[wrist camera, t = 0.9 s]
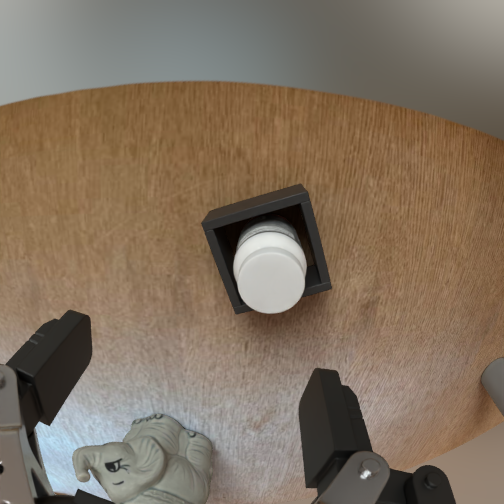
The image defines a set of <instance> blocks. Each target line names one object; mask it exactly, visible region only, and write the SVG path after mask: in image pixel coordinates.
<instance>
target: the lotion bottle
mask: <svg viewBox="0 0 504 504" xmlns="http://www.w3.org/2000/svg"><path fill="white" fill-rule="evenodd" d="M481 382H482V385H483V386H484V388H485V389H486V391H487V392H488V394H489V395H490V397H491V398H492V400H493V401H494V403H495V404H496V406H497V407H498V409H499V410H500V412H501V413H502V415H503V416H504V358H499V359H496V360H495V361H493V362H492V363H491V364H490V365H489V366H488V367H487V368H486V369H485V371H484V372H483V374H482V377H481Z"/></svg>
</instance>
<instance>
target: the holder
mask: <svg viewBox="0 0 504 504" xmlns="http://www.w3.org/2000/svg"><path fill="white" fill-rule="evenodd" d="M296 204H298V205H299V209H300V212H301V216H302V220H303V223H304V227H305V231H306V234H307V238H308V242H309V246H310V249H311V253H312V257H313V261H314V265H312V266H309V267H307V269H306V275H305V288H304V292H303V294H302V296H301V298H302V297H305V296H309V295H312V294H316V293H319V292H323V291H327V290H330V289H332V286H331V282H330V277H329V273H328V269H327V265H326V260H325V256H324V252H323V248H322V244H321V240H320V236H319V232H318V228H317V224H316V221H315V217H314V213H313V209H312V205H311V202H310V198H309V195H308V192H307V190H306V189H305V188H304V187H303V186H302V184H298V185H294V186H291V187H287V188H284V189H280V190H277V191H273V192H270V193H267V194H263V195H260V196H257V197H253V198H250V199H247V200H243V201H240V202H237V203H234V204H230V205H227V206H224V207H221V208H217V209H214V210H211V211H209V213H208V214H207V216H206V217H205V219H204V220H203V221H202V223H201V224H202V227H203V230H204V231H205V235H206V238H207V240H208V243H209V246H210V249H211V251H212V254H213V257H214V259H215V262H216V265H217V267H218V270H219V273H220V275H221V278H222V280H223V283H224V286H225V288H226V291H227V293H228V296H229V299H230V301H231V304H232V306H233V309H234V311H235V314H240V313H244V312H248V311H252V310H254V309H252V308H251V307H249V306H248V305H247V304H246V303H245V302H244V301H243V299H242V298H241V296H240V294H239V291H238V286H237V282H236V279H235V276H234V271H233V264H234V255H233V252H232V249H231V247H230V244H229V241H228V238H227V235H226V232H225V229H224V227H223V226H225V225H228V224H231V223H235V222H238V221H241V220H245V219H248V218H251V217H255V216H258V215H262V214H265V213H268V212H272V211H275V210H279V209H282V208H286V207H289V206H293V205H296Z"/></svg>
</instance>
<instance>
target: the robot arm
mask: <svg viewBox="0 0 504 504" xmlns="http://www.w3.org/2000/svg"><path fill="white" fill-rule="evenodd" d="M91 357H92V337H91V321H90V317H89V316H88V315H85V314H82V313H79V312H76V311H73V310H68V311H67V312H66V313H65V314H64V315H63V316H62V317H61V318H60V319H59V320H57V319H53V320H51V321H49V322H47V323H45V324H43V325H42V326H41V327H40V328H39V329H38V330H37V331H36V332H35V334H33V335H32V336H31V337H30V338H29V341H27V342H26V343H25V344H24V345H23V346H22V347H21V348H20V349H19V350H18V351H17V352H16V353H15V354H14V356H13V357H12V358H11V359H10V360H9V361H8V362H7V363H6V364H5V365H4V364H0V504H115V503H114V502H111V501H108V500H106V499H103V498H100V497H97V496H95V495H92V494H90V493H87V492H85V491H82V490H80V489H78V490H77V492H76V494H75V496H70V495H54V492H53V489H52V487H51V485H50V482H49V480H48V477H47V475H46V471H45V468H44V464H43V460H42V456H41V451H40V447H39V443H38V438H37V433H36V429H35V427H36V425H37V423H38V422H39V421H40V422H42V423H44V424H46V425H48V426H50V425H51V423H52V421H53V420H54V418H55V416H56V415H57V413H58V412H59V410H60V408H61V407H62V405H63V404H64V402H65V400H66V399H67V397H68V396H69V394H70V392H71V391H72V389H73V388H74V386H75V385H76V383H77V382H78V380H79V379H80V377H81V375H82V374H83V372H84V371H85V369H86V368H87V366H88V365H89V363H90V360H91ZM362 417H363V416H362V412H361V410H360V406H359V403H358V399H357V396H356V395H355V394H354V393H353V391H352V390H351V389H350V388H349V386H345V385H341V381H340V377H339V374H338V372H337V371H336V370H329V369H321V368H315V369H314V371H313V373H312V375H311V377H310V380H309V382H308V384H307V386H306V388H305V391H304V393H303V395H302V397H301V400H300V404H299V422H300V432H301V441H302V451H303V462H304V472H305V483H306V488H317V492H318V496H317V497H316V498H315V499H314V500H313V502H312V503H311V504H456V502H455V499H454V496H453V493H452V490H451V487H450V484H449V481H448V478H447V476H446V475H445V474H444V472H443V471H442V470H440V469H439V468H437V467H435V466H431V465H425V466H422V467H420V468H418V469H417V470H416V471H415V472H414V473H413V474H412V473H407V472H402V471H398V470H394V469H390V468H389V465H388V463H387V462H386V460H385V459H384V458H383V457H381V456H380V455H378V454H376V453H374V452H373V450H372V446H371V443H370V439H369V436H368V432H367V429H366V426H365V422H364V419H362Z"/></svg>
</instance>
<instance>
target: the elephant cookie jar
mask: <svg viewBox="0 0 504 504" xmlns="http://www.w3.org/2000/svg"><path fill="white" fill-rule="evenodd" d="M211 454H212V444H211V442H210V441H209V440H208V439H207V438H206V437H204V436H203V435H201V434H198V433H196V432H193V431H189V430H185V429H184V428H183V427H182V426H181V425H180V424H179V423H178V422H176V421H175V420H174V419H172V418H170V417H168V416H166V415H162V414H153V415H151V416H149V417H146V418H143V419H137V420H134V421H133V422H132V426H131V430H130V431H129V432H128V433H127V434H126V436H125V438H124V439H123V442H109V443H106V444H104V445H95V446H85V447H81V448H78V449H76V450H75V451H74V453H73V456H72V461H73V466H74V469H75V473H76V477H77V479H78V480H79V481H80V482H87V481H89V480H90V474H89V472H88V470H89V469H90V470H91V472H92V474H93V476H94V478H95V479H96V480H97V481H98V482H99V483H100V485H101V486H102V487H103V489H104V490H105V492H106V493H107V494H108V496H109V498H110V499H111V500H112V502H114V503H115V504H205V503H206V502H207V499H208V496H209V491H210V482H211V478H212V474H213V469H212V461H211Z"/></svg>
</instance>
